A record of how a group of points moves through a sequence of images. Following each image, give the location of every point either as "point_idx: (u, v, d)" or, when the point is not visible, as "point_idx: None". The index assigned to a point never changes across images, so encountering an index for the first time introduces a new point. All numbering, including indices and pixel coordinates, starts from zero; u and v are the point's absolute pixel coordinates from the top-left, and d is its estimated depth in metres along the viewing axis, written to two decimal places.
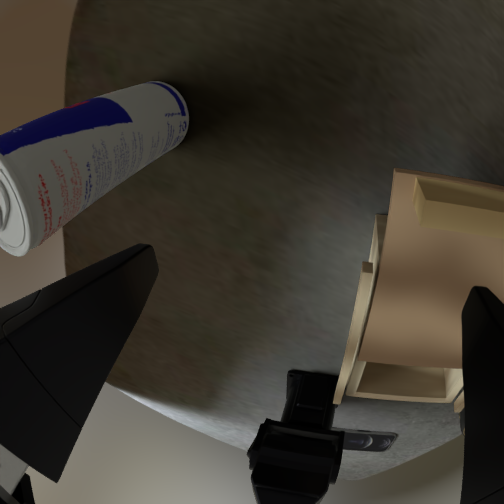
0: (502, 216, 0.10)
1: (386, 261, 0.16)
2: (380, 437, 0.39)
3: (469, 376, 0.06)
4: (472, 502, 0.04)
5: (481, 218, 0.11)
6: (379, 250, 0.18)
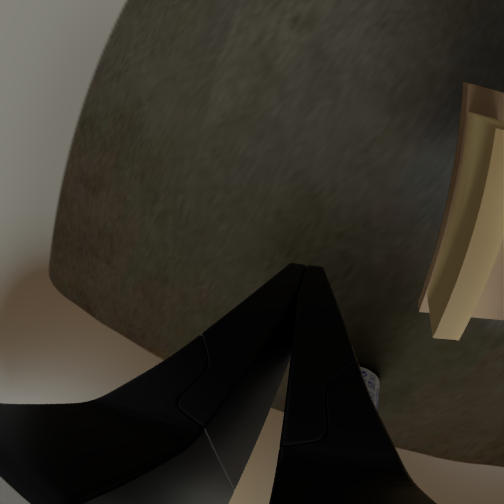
0: (468, 260, 0.09)
1: None
2: None
3: None
4: None
5: (466, 285, 0.09)
6: None
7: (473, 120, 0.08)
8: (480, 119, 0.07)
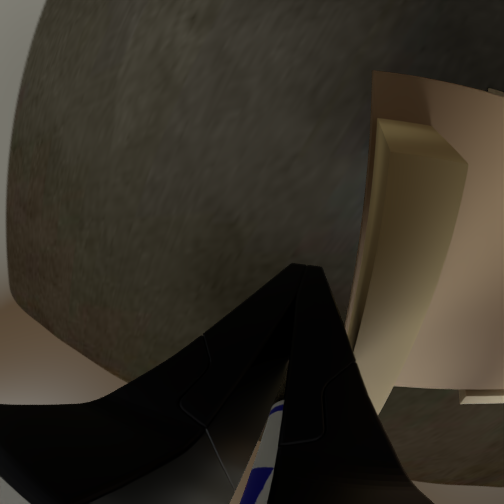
0: (360, 357, 0.06)
1: (456, 385, 0.10)
2: None
3: None
4: None
5: None
6: None
7: (379, 134, 0.06)
8: (382, 132, 0.05)
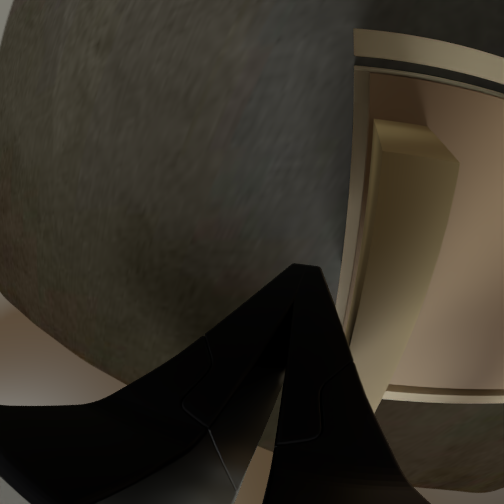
0: (355, 353, 0.07)
1: (454, 384, 0.10)
2: None
3: None
4: None
5: None
6: None
7: (374, 134, 0.06)
8: (377, 132, 0.05)
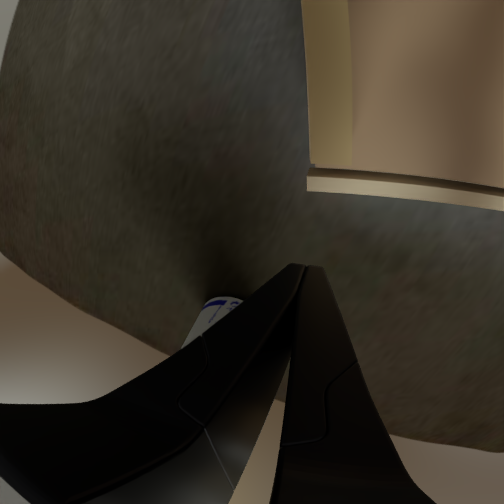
0: (311, 38, 0.07)
1: (442, 171, 0.10)
2: None
3: None
4: None
5: (323, 73, 0.08)
6: None
7: None
8: None
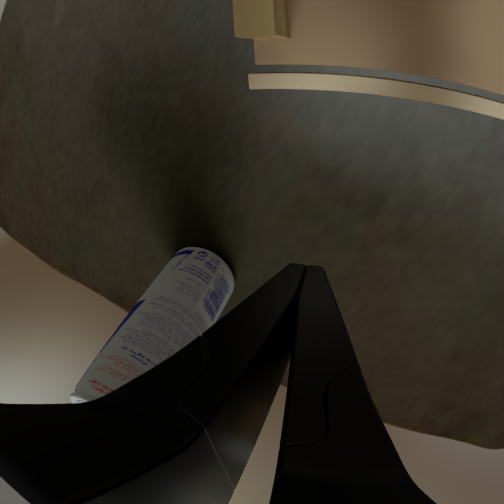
0: None
1: (392, 64, 0.09)
2: None
3: None
4: None
5: None
6: None
7: None
8: None
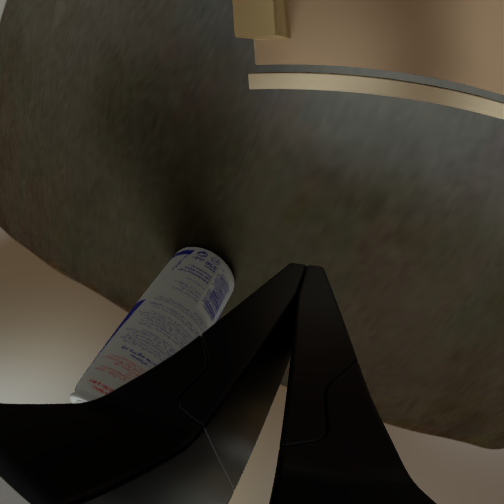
0: None
1: (392, 64, 0.09)
2: None
3: None
4: None
5: None
6: None
7: None
8: None
